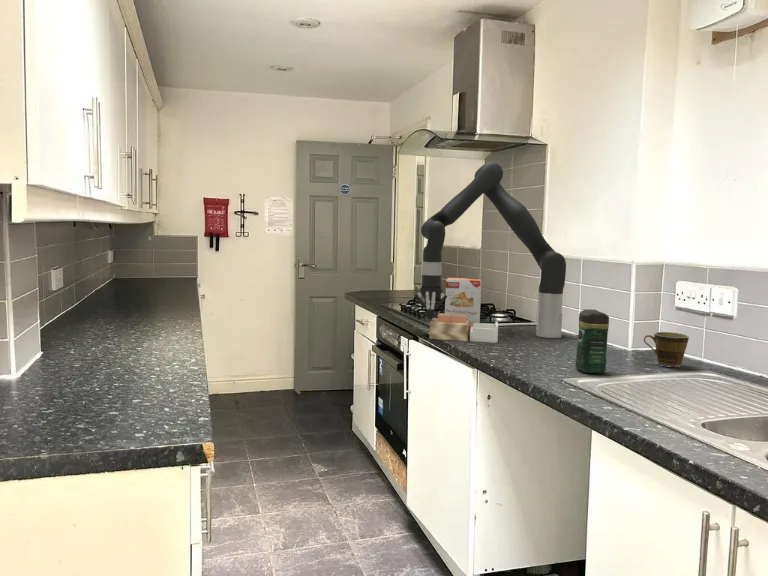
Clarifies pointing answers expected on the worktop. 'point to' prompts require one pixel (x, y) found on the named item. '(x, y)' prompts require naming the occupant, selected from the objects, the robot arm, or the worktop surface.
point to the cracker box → (464, 298)
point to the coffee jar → (592, 341)
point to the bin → (484, 332)
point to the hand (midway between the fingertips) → (430, 318)
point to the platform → (448, 330)
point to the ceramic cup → (669, 348)
